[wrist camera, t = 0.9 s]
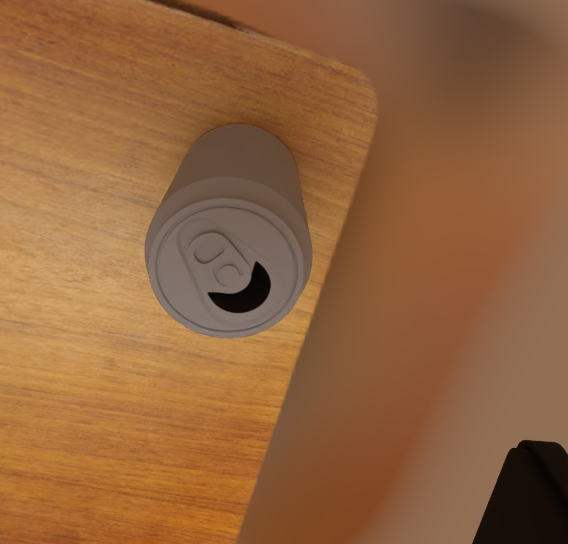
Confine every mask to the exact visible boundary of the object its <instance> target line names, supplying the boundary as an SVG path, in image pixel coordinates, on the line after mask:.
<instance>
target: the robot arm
mask: <svg viewBox="0 0 568 544" xmlns="http://www.w3.org/2000/svg"><path fill="white" fill-rule="evenodd" d="M472 544H568V454H567V453H566V451H565V450H564V448H563V447H562V446H561V445H560V444H558V443H555V442H544V441H531V440H523V441H521V442H520V443H519V444H518V446H517V448H512V449H510V451H509V452H508V454H507V457H506V459H505V462H504V464H503V467H502V469H501V472H500V474H499V477H498V479H497V482H496V485H495V487H494V490H493V492H492V495H491V497H490V500H489V502H488V505H487V507H486V510H485V512H484V515H483V518H482V520H481V523H480V525H479V528H478V530H477V533H476V535H475V538H474V540H473V543H472Z"/></svg>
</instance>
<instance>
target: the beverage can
mask: <svg viewBox="0 0 568 544" xmlns="http://www.w3.org/2000/svg"><path fill="white" fill-rule="evenodd" d="M145 261H146V266H147V270H148V273H149V278H150V282H151V286H152V289H153V291H154V293H155V295H156V297H157V299H158V301H159V302H160V304H161V305H162V307H163V308H164V309H165V310H166V312H167V313H168V314H169V315H170V316H172V317H173V318H174V319H175V320H176V321H178V322H179V323H180V324H182V325H184V326H185V327H187V328H189V329H191V330H193V331H195V332H197V333H200V334H203V335H207V336H211V337H217V338H239V337H247V336H251V335H254V334H257V333H260V332H262V331H265V330H267V329H269V328H270V327H272V326H274V325H275V324H276V323H278V322H279V321H280V320H282V319H283V318H284V317H285V316H286V315H287V314H288V313H289V312H290V310H291V309H292V308H293V306H294V305H295V303H296V301H297V300H298V298H299V296H300V294H301V293H302V291H303V289H304V287H305V285H306V283H307V281H308V278H309V275H310V271H311V267H312V244H311V238H310V233H309V228H308V223H307V218H306V212H305V207H304V202H303V197H302V192H301V187H300V182H299V176H298V171H297V167H296V164H295V161H294V159H293V157H292V155H291V153H290V151H289V150H288V149H287V147H286V146H285V145H284V144H283V143H282V142H281V141H280V140H279V139H278V138H277V137H276V136H274V135H273V134H271V133H270V132H268V131H266V130H264V129H262V128H260V127H257V126H253V125H249V124H228V125H223V126H219V127H217V128H214V129H212V130H210V131H208V132H207V133H205V134H204V135H202V136H201V137H200V138H199V139H198V140H197V141H196V142H195V143H194V144H193V145H192V147H191V148H190V149H189V151H188V153H187V155H186V157H185V158H184V160H183V162H182V164H181V166H180V168H179V170H178V172H177V173H176V175H175V177H174V179H173V181H172V183H171V185H170V187H169V189H168V190H167V192H166V194H165V196H164V198H163V200H162V202H161V204H160V206H159V207H158V209H157V211H156V213H155V215H154V217H153V219H152V221H151V223H150V225H149V228H148V231H147V235H146V241H145Z"/></svg>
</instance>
